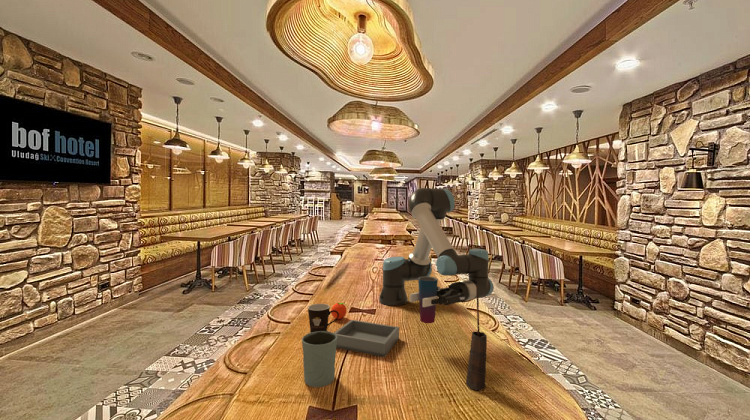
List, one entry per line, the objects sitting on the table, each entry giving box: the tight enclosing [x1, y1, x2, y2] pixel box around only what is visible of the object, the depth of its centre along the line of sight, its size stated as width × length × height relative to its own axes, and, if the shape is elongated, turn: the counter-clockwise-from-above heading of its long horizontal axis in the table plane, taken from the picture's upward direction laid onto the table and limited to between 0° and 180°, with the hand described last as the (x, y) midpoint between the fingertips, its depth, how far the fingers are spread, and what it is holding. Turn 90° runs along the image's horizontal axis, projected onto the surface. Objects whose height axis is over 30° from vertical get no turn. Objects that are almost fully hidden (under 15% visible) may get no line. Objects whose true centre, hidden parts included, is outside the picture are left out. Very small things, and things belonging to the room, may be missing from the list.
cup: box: [417, 276, 439, 324], centre depth 110 cm, size 7×7×15 cm
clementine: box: [330, 302, 349, 320], centre depth 140 cm, size 8×7×7 cm
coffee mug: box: [307, 303, 339, 333], centre depth 123 cm, size 12×9×10 cm
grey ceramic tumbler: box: [301, 330, 337, 388], centre depth 90 cm, size 10×10×12 cm
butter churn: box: [465, 285, 488, 391], centre depth 86 cm, size 9×10×28 cm
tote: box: [333, 319, 400, 358], centre depth 115 cm, size 16×20×4 cm
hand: (416, 300), depth 108 cm, fingers closed on cup, 6 cm apart
